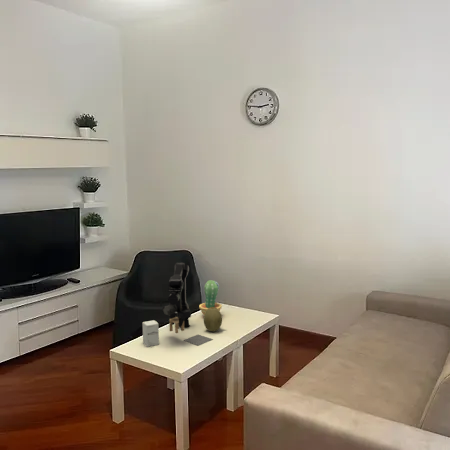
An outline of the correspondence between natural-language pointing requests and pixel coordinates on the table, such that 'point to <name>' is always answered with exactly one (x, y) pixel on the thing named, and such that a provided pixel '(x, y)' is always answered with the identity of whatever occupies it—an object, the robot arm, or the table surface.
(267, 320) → the table surface
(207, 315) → the fruit
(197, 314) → the table surface
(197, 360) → the table surface
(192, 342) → the mat
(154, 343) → the supplement box
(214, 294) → the potted cactus
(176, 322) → the stool
